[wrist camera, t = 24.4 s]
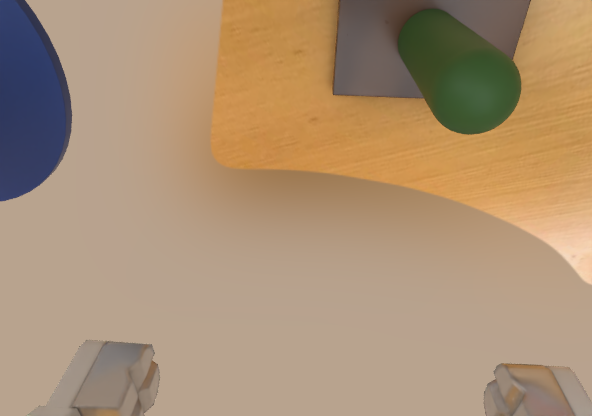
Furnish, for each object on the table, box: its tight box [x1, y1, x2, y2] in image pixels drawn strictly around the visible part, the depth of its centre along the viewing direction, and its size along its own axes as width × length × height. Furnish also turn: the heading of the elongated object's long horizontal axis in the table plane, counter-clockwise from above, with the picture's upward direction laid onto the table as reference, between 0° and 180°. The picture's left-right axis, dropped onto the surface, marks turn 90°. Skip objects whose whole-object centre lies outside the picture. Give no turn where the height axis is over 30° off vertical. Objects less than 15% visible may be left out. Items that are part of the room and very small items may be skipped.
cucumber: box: [398, 9, 521, 134], centre depth 26 cm, size 5×5×14 cm
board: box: [333, 0, 531, 98], centre depth 33 cm, size 14×10×2 cm
